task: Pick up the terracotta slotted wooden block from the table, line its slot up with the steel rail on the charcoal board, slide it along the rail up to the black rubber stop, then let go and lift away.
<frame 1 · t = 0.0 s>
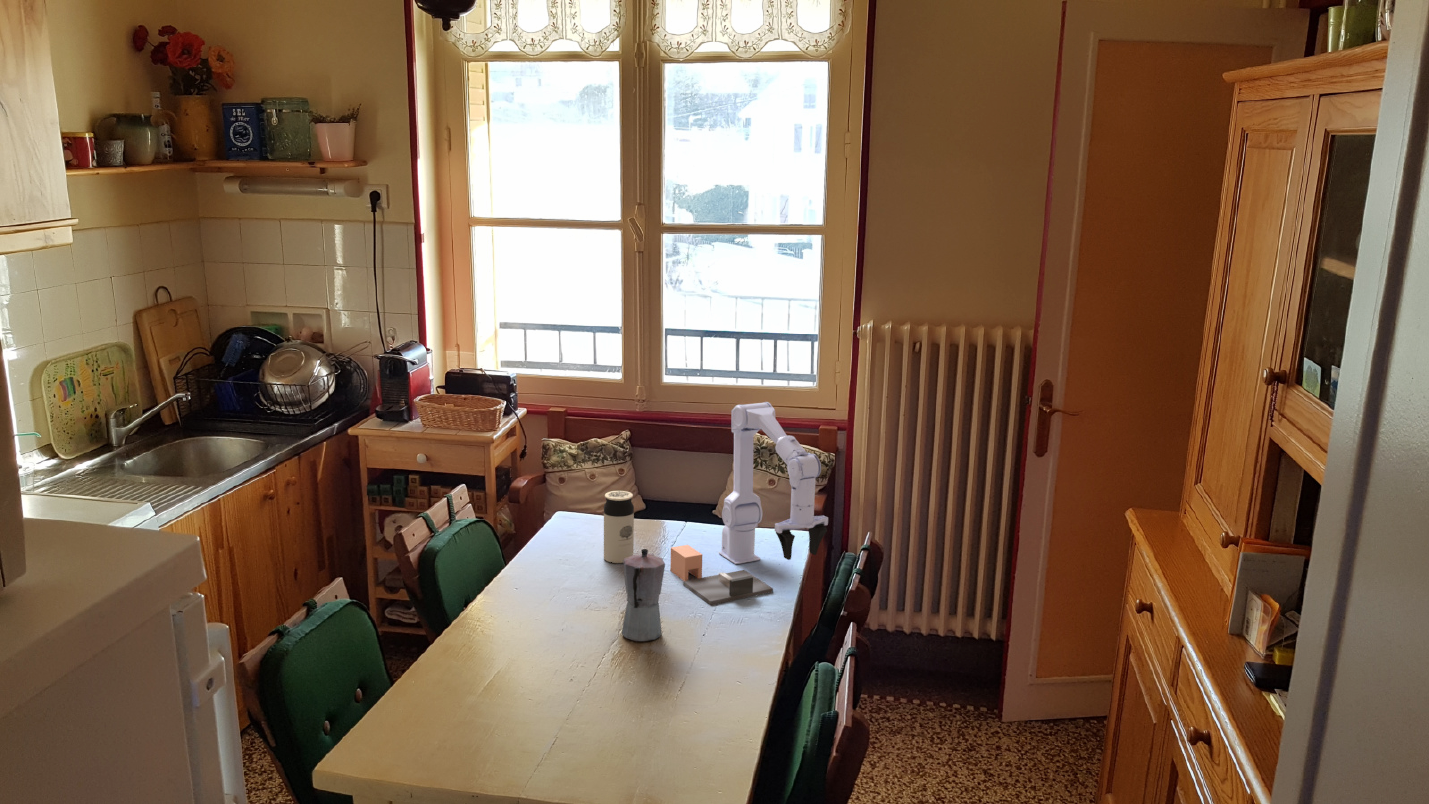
hand: (800, 556, 258), 10 cm above the table, tool pointing down, fingers open, 7 cm apart
moka pot: (642, 636, 235), on the table
travel mug: (618, 559, 281), on the table
rail board: (727, 588, 263), on the table
slotted block: (686, 574, 271), on the table
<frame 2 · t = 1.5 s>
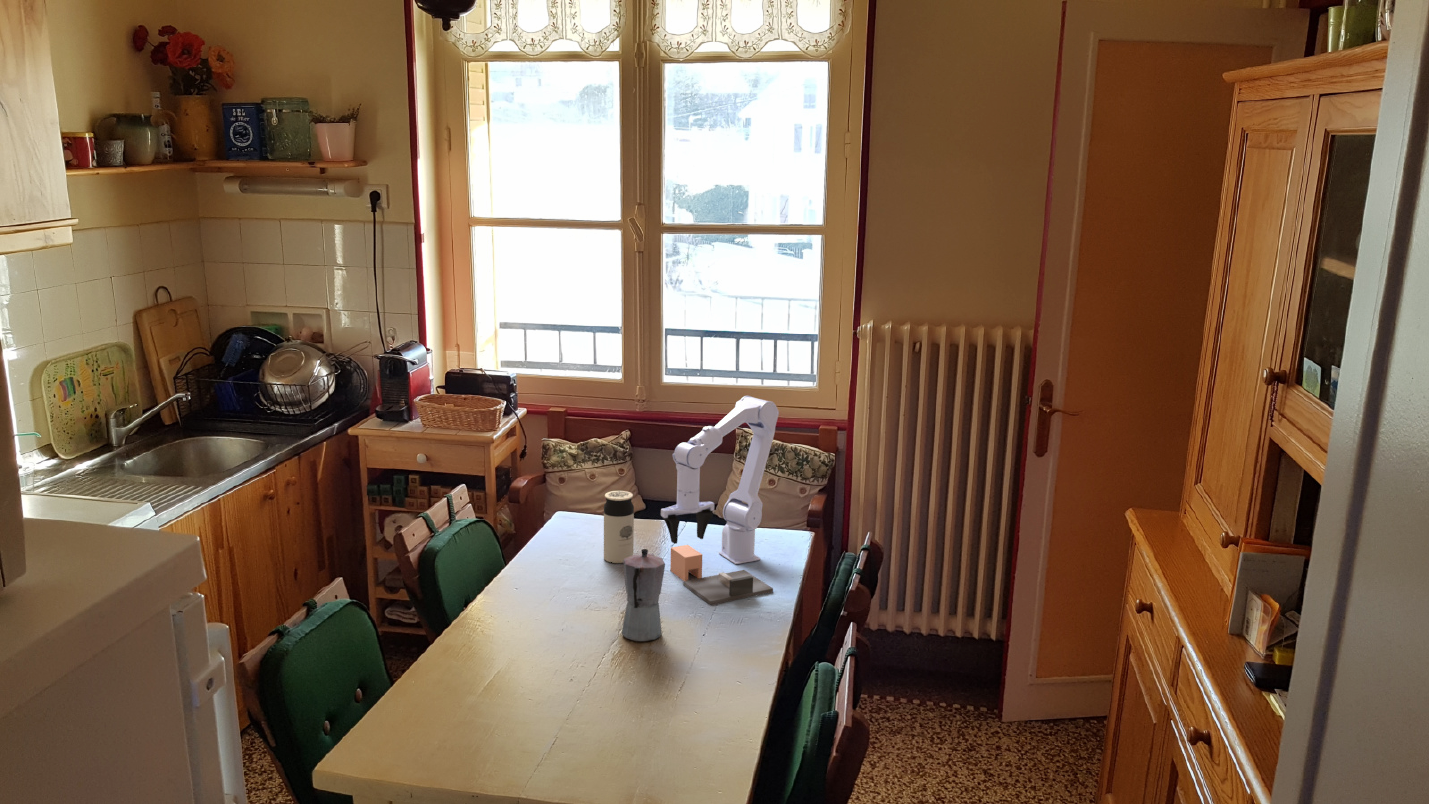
hand: (687, 540, 269), 9 cm above the table, tool pointing down, fingers open, 7 cm apart
nothing on the table moved.
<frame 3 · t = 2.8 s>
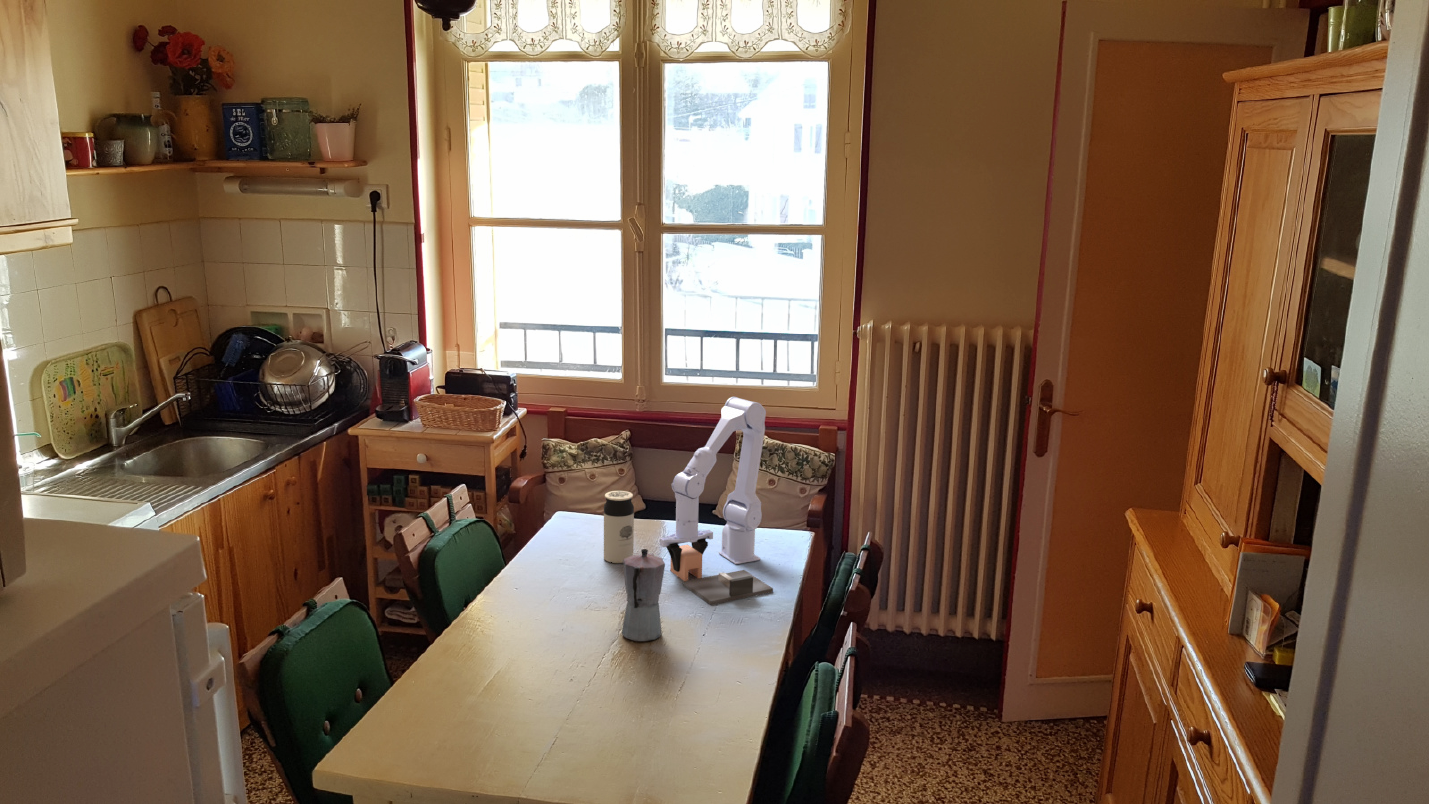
hand: (686, 568, 271), 2 cm above the table, tool pointing down, fingers closed on slotted block, 5 cm apart
slotted block: (686, 574, 271), on the table, touching gripper
everything else where it was.
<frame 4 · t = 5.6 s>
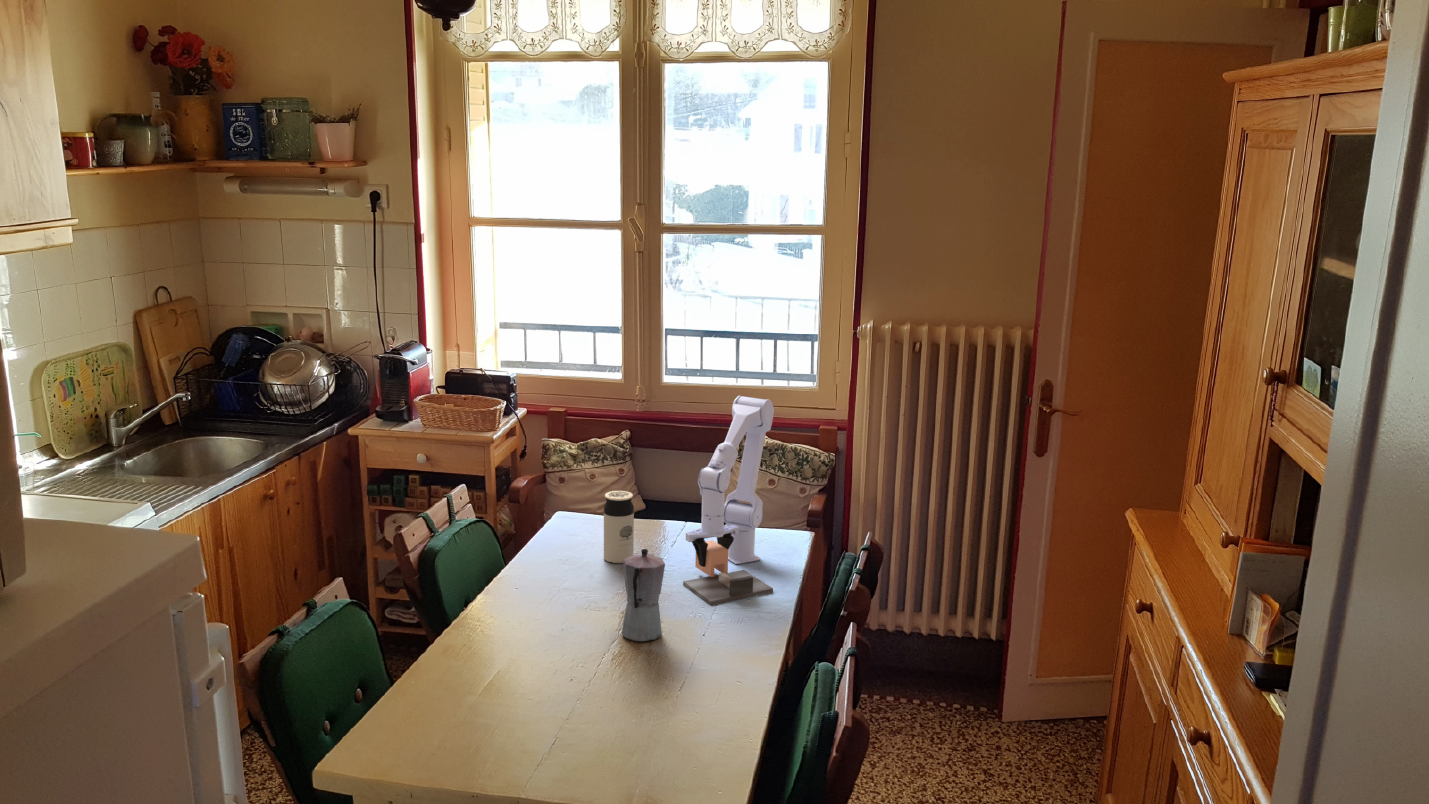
hand: (711, 563, 269), 4 cm above the table, tool pointing down, fingers closed on slotted block, 5 cm apart
slotted block: (711, 570, 269), point 2 cm above the table, touching gripper
everything else where it was.
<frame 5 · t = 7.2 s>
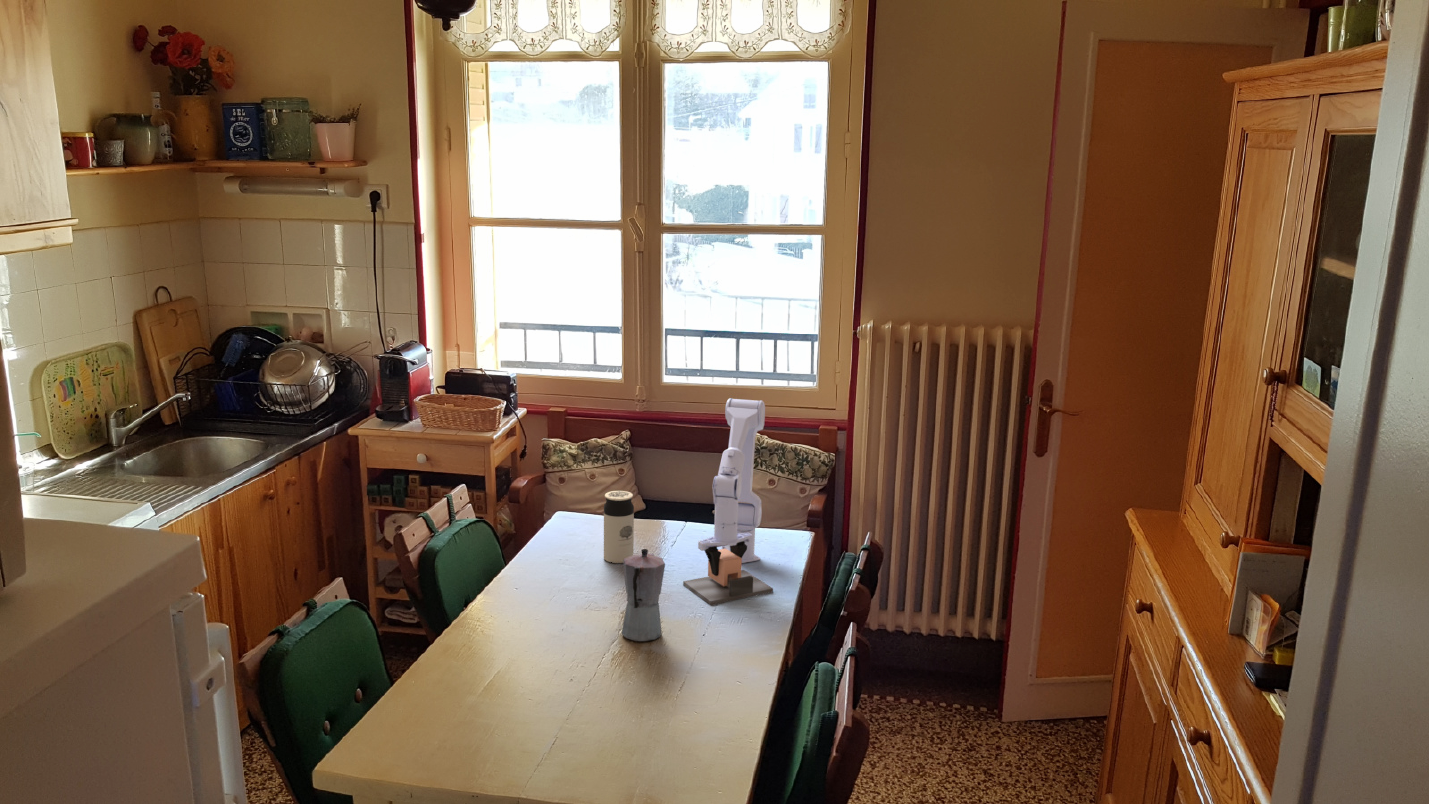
hand: (724, 572, 263), 4 cm above the table, tool pointing down, fingers closed on slotted block, 5 cm apart
slotted block: (724, 579, 264), point 2 cm above the table, touching gripper
everything else where it was.
when the fingers open (4 cm above the table, at t = 8.5 s): slotted block stays where it is, resting on rail board.
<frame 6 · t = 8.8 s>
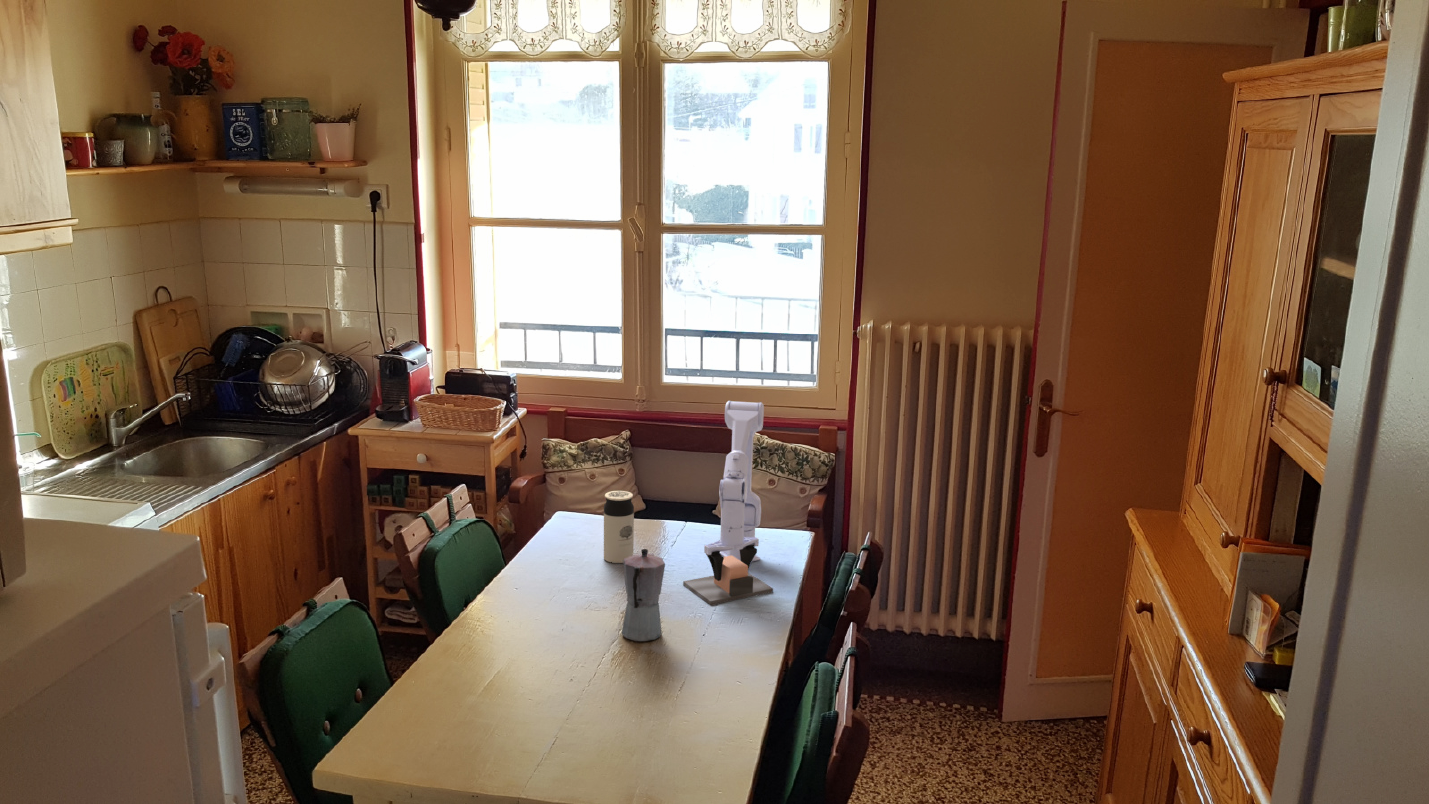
hand: (730, 576, 261), 4 cm above the table, tool pointing down, fingers open, 7 cm apart
slotted block: (730, 586, 261), point 1 cm above the table, touching rail board
everything else where it was.
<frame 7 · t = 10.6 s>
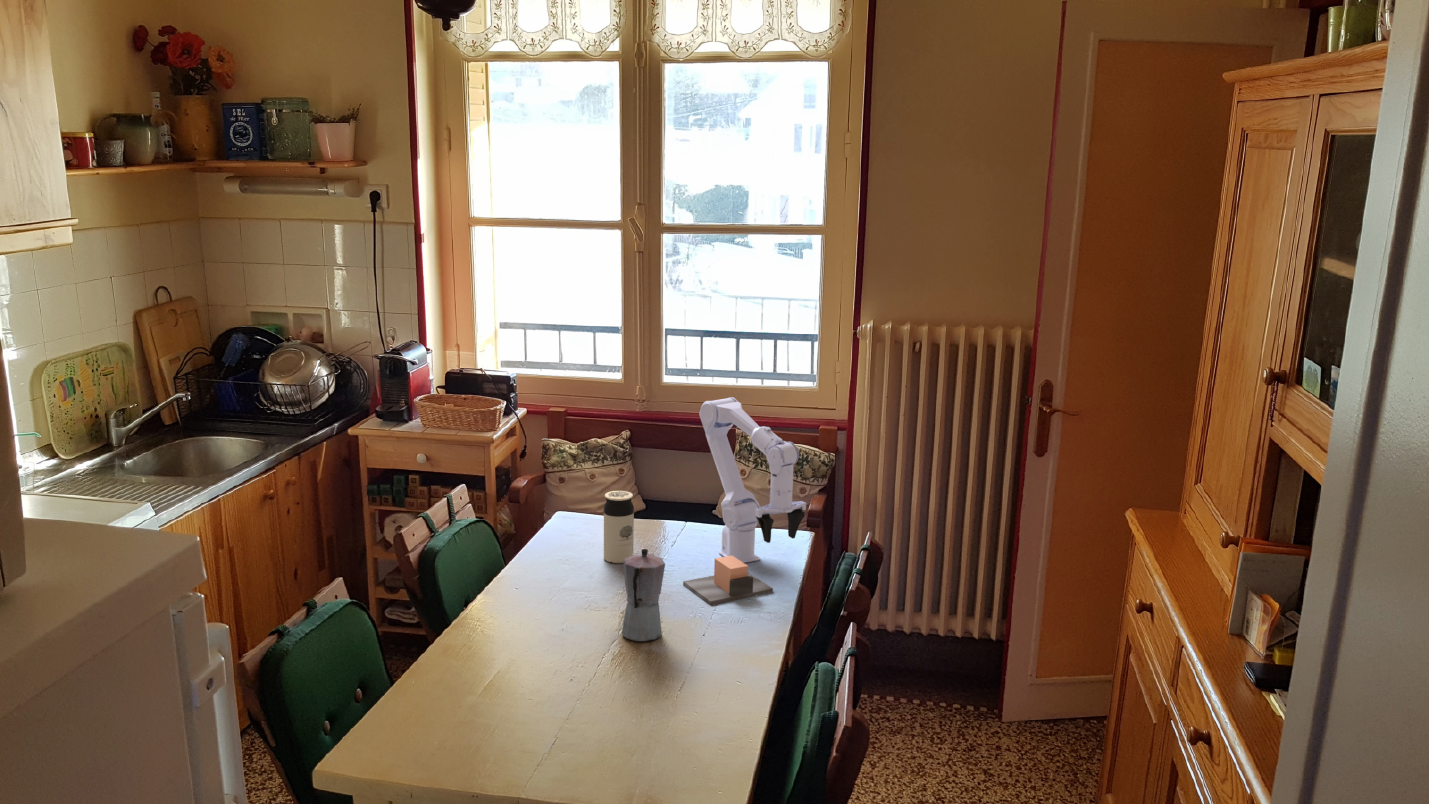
hand: (779, 539, 271), 9 cm above the table, tool pointing down, fingers open, 7 cm apart
nothing on the table moved.
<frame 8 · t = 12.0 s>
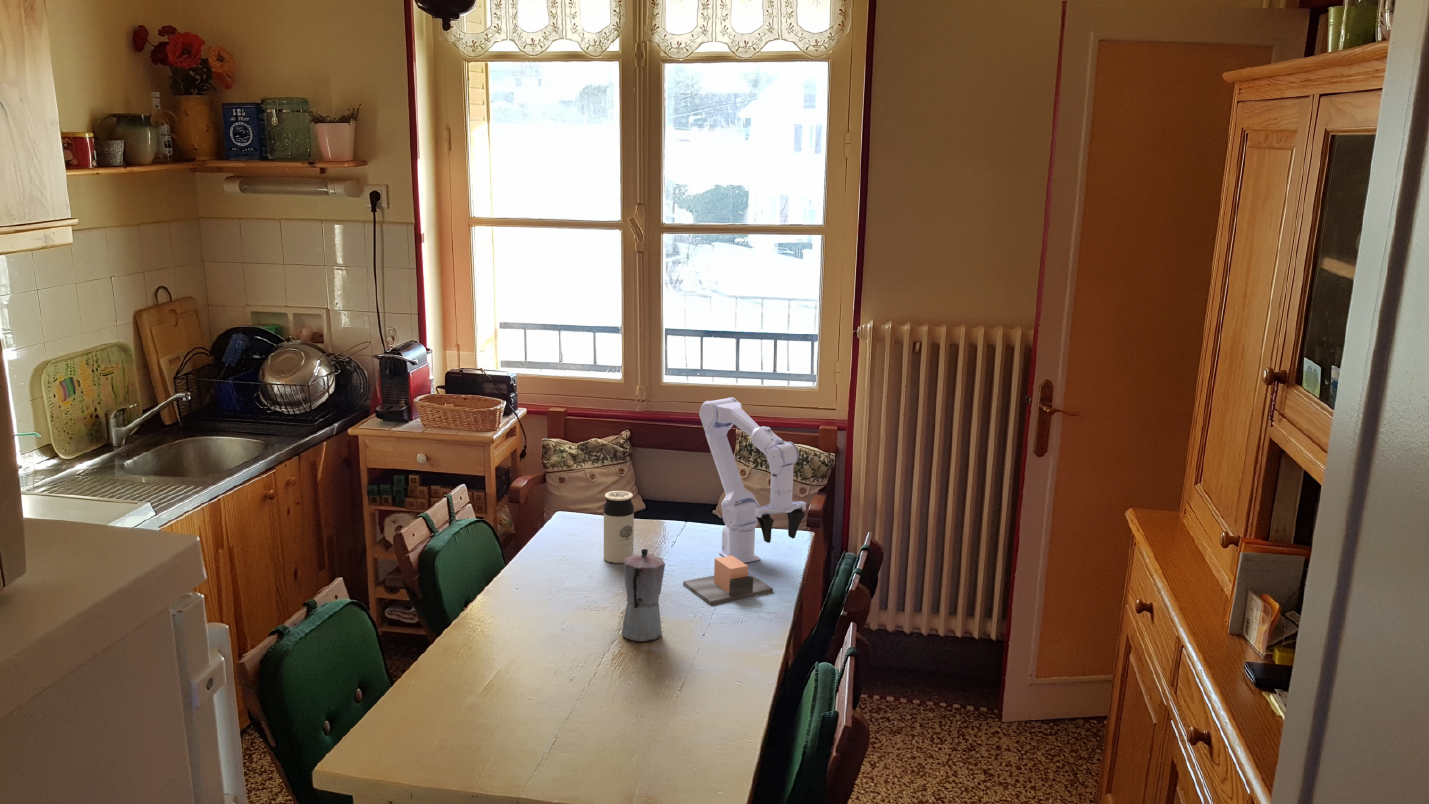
hand: (779, 539, 271), 9 cm above the table, tool pointing down, fingers open, 7 cm apart
nothing on the table moved.
at the end: slotted block 1.3 cm off-centre on the rail board, point 1.0 cm above the rail board's base; slotted block tilted 0°; the gripper is holding nothing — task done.
